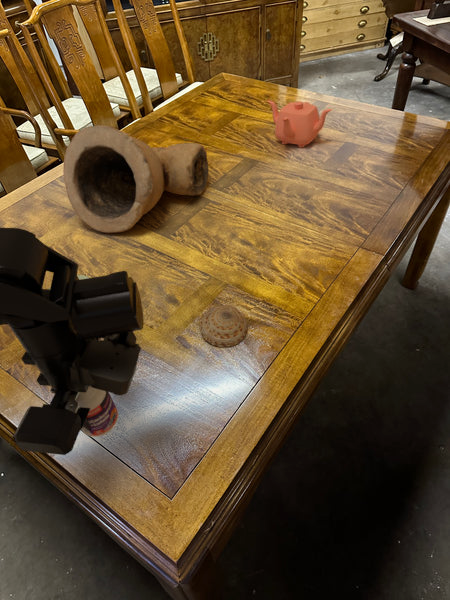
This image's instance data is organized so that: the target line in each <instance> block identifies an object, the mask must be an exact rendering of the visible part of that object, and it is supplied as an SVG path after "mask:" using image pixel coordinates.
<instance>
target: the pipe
mask: <svg viewBox="0 0 450 600" xmlns="http://www.w3.org/2000/svg"><path fill="white" fill-rule="evenodd" d="M62 174H63V178H64V186H65V191H66V195H67V198H68V201H69V203H70V205H71V207H72V209H73V210H74V212H75V214H76V216H77V217H79V219H81V220H82V222H84V223H85V224H86V225H87V226H88V227H90V228H91V229H93V230H95V231H98V232H101V233H107V234H109V233H111V234H112V233H122V232H127V231H129V230H131V229H132V228H133V227H134V226H135V225H136V223H137V222H139V221H140V219H141V218H142V216H144V215H145V214H147V213H149V211H151V210H152V209H153V208H155V206H156V204H157V203H158V202H159V201H160V199H161V198H162V195H163V193H164V192H165V191H166V192H169V193H173V194H176V195H182V196H190V197H192V196H199V195H201V194H202V193H203V192H204V191H205V189H206V187H207V183H208V178H209V160H208V153H207V150H206V148H205V147H204V145H202V144H200V143H195V142H184V143H175V144H171V145H169V146H166V147H163V146H159V147H151V146H150V145H148V144H147V143H146V142H144V141H142V140H141V139H138V138H136V137H133V136H131V135H129V134H128V133H127V132H125V131H122V130H120V129H117V128H115V127H113V126H110V125H105V124H103V125H102V124H98V125H93V126H92V125H91V126H90V125H89V126H86V127H84V128H82V129H80V130H78V131H77V132H76V133H75V134H74V136H73V137H72V139H71V140H70V142H69V144H68V145H67V147H66V149H65V154H64V158H63V173H62Z"/></svg>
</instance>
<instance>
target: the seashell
mask: <svg viewBox="0 0 450 600" xmlns="http://www.w3.org/2000/svg"><path fill="white" fill-rule="evenodd" d="M199 330H200V334H201V336H202V337H203V339H205V341H206V342H208V343H209V344H211V345H213V346H215V347H218V348H229V347H233V346H236V345H238V344H239V343H241V342H242V341H243V340H244V339H245V337H246V335H247V332H248V322H247V319H246V318H245V316H244V315H243V313H242V312H241V311H240V310H239V308H237V307H235V306H233V305H230V304H225V305H219V306H214V307H211V308H210V309H208V310H206V312H205V313H204V314H203V316H202V317H201V320H200V323H199Z"/></svg>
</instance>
